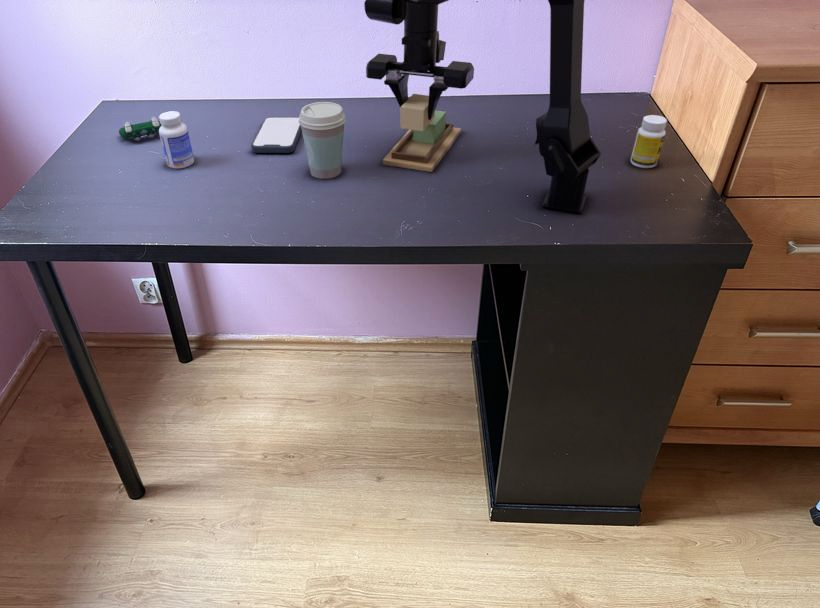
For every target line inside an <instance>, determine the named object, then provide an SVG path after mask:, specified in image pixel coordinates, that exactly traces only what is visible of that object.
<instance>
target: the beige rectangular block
mask: <svg viewBox="0 0 820 608" xmlns="http://www.w3.org/2000/svg"><path fill="white" fill-rule="evenodd" d="M428 101H429V94H428V95H427V94H418V93H412V94H411V95H410V97H408V100H407V101H406V102H405V103H404V104H403V105H402V106H401V108H400V116H399V117H400V118H399V119H400V121H399V123H400V124H399V127H400V128H399V129H402V130H409V129H410V130H417V131H424V130H425V128H426V127H427V126H428V125H429V124H430V123H431V121H432V120H433V119H434V118H435V111H434V114H433V117H432V119H431V120H429V119H428Z"/></svg>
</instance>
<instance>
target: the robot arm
mask: <svg viewBox="0 0 820 608" xmlns="http://www.w3.org/2000/svg"><path fill="white" fill-rule="evenodd" d="M449 1H450V0H365V1H364V4H363V7H364V12H365V16H366V17H367V18H368V19H369V20H371V21H377V22H381V23H386V24H391V25H400V24H402V23H403V37H402V38H401V45H402V46H403V61H402V62H401V61H398V57H397V56H396V55H395V54H386V53H377V54H376V55H375V56H373V58H371V59H370V60H369V61H368V62H367V63H366V67H365V78H367V79H371V80H380V81H381V80H383V78H385V80H384V81H383V83H384V84H383V85H385V86H388V87H389V89H390V90H391V92H392V94H393V95H394V97H395V99H396V101H397V105H398V106H399V108H400V109H401V106H402V105H403V104H404V103H405V102H406V101H407V100H408V99H409V88H408V87H409V86H408V84H409V78H410V76H416V77H417V76H418V77H424V78H426V77H427V78H433V82H432V83H431V84H430V86H429V87H428V96H429V101H428V119H429V120H431V119H432V117H433V114H434V111H435V110H436V109H437V106H438V104H439V101H440V98H441V96H442V95H443V92H445V91H447V90H448V89H449V88H453V89H459V90H460V89H466V88H467V87H468V85H469V84H471V82H472V81H473V79H474V76H475V75H474V74H475V67H474V65H473V64H472V62H469V61H457V60H452V61H451V62H450V63H449V64H448V65H447V66H442V65H441V66H440V65H436V64H440V62H441V61H444V60H445V53H446V46H447V41H445V40H441V39H440V32H439V30H438V20H439V19H438V18H439V5H441V4H444V3H446V2H449ZM547 2H548V3H549V8H550V9H549V10H550V11H549V12H550V13H549V14H550V15H549V16H550V17H549V18H550V19H549V21H550V23H549V24H550V26H549V27H550V29H549V104H548V109H547V111H546V112H544V113H543V114H542V115H540V116H539V117H537V118H536V119H535V129H536V139H535V142H534V145H536V146H537V145H538V153H539V154H540V156H541V157H542V158H543V163H544V168H545V174H546V175H547V176H550V183H549V189H548V190H547V193H546V195H545V198H544V200H543V202H542V207H541V208H543V209H549V210H554V211H561V212H566V213H572V214H578V215H579V214H582V213H583V210H584V206H585V204H586V201H587V197H588V194H586V193H585V191H586V186H587V183H588V176H589V173H590V172H589V171H590V169H589V168H591V166H593V165H595V164H596V163H597V161H598V160H599V158H600V157H601V156H602V155H601V154H602V153H601V151H600V150H599V148H598V146H597V145H596V143H595V142H594V140H593V138H592V137H591V130H590V124H589V122H590V121H589V115H588V112H587V110H586V109H585V105H584V104H583V102H582V74H583V73H582V72H583V49H584V48H583V47H584V45H583V44H584V42H583V41H584V21H585V20H584V17H585V2H586V1H585V0H547Z"/></svg>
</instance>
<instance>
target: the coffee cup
mask: <svg viewBox="0 0 820 608" xmlns="http://www.w3.org/2000/svg"><path fill="white" fill-rule="evenodd" d="M298 118H299V124H300V125H301V128H302V131H301V134H302V137H303V143H304V147H305V152H306V157H307V162H308V167H309V171H310V175H311V176H312V177H314V178H316V179H320V180H329V179H334V178H336V177H338V176H339V175H341V173H342V163H343V148H344V133H345V132H344V131H345V122H346V121H347V117H346V114H345V112H344V109H343V107H342V106H341V105H340V104H338V103H335V102H332V101H331V102H330V101H317V102H312V103H308V104H306V105H304V106H303V107H302V108H301V109H300V113H299V116H298Z"/></svg>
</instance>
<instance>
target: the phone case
mask: <svg viewBox="0 0 820 608" xmlns="http://www.w3.org/2000/svg"><path fill="white" fill-rule="evenodd" d="M301 134H302V128H301V125H300V124H299V117H283V116H281V117H272V116H271V117H266V118H265V119H264V120H263V122H262V124H261V125H260V128H259V129H258V131H257V133H256V134H255V138H254V139H253V141H252V143H251V152H253V153H256V154H258V153H259V154H260V153H261V154H263V153H264V154H265V153H266V154H270V153H271V154H290V153H293V152H294V151H295V149H296V146H297V144H298V141H299V139H300V136H301Z"/></svg>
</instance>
